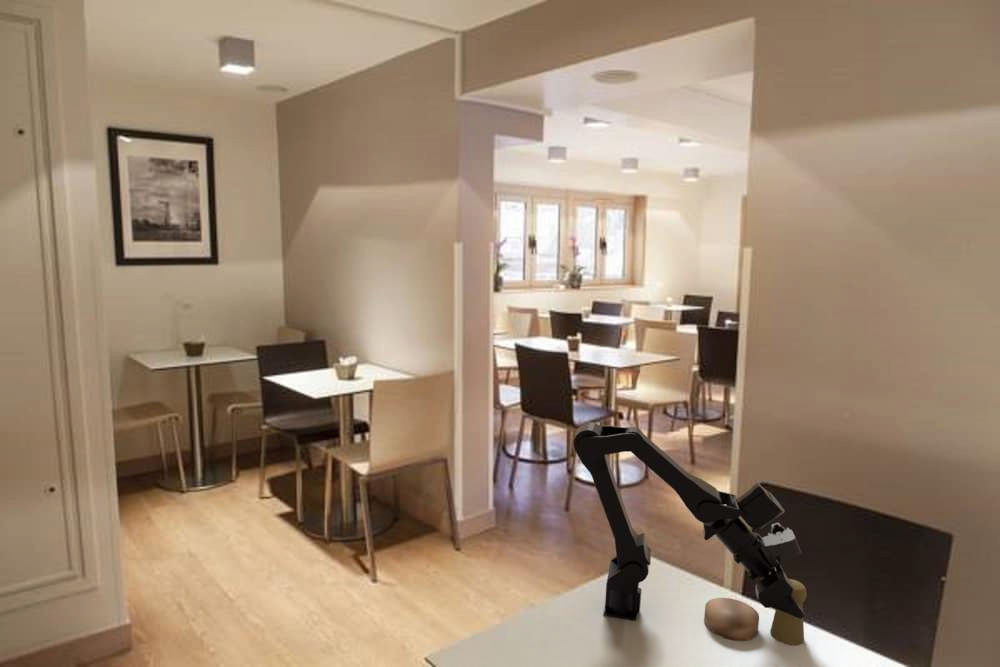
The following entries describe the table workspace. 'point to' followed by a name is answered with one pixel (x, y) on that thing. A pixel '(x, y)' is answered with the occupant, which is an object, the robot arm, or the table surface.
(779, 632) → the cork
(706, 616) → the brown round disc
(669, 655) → the table surface
